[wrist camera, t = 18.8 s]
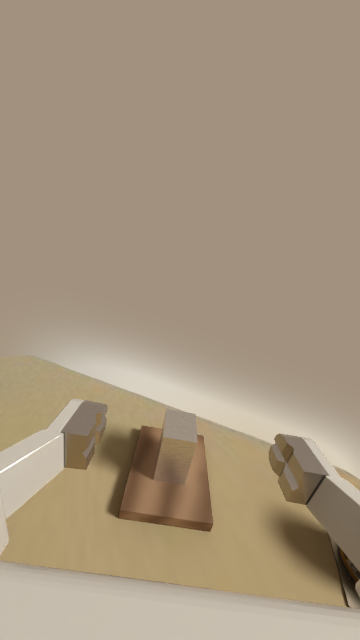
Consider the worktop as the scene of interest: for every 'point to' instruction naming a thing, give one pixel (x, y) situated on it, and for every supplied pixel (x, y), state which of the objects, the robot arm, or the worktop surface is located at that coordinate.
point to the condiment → (347, 575)
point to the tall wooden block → (176, 447)
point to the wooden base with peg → (166, 489)
